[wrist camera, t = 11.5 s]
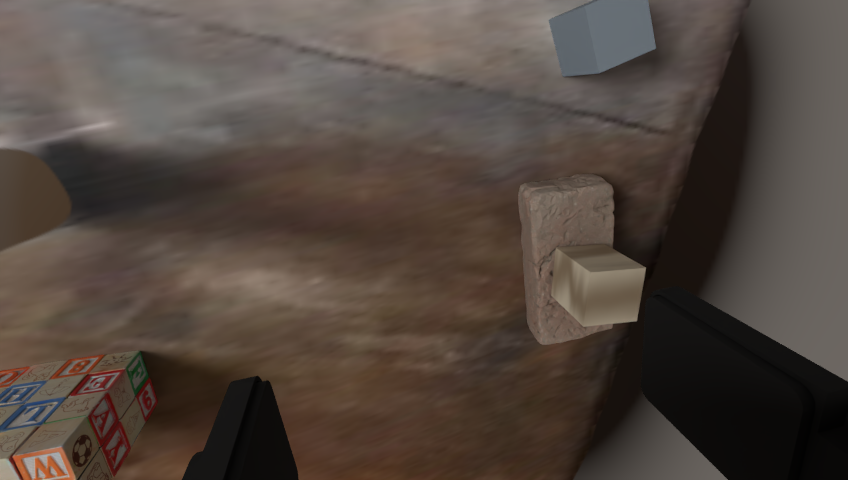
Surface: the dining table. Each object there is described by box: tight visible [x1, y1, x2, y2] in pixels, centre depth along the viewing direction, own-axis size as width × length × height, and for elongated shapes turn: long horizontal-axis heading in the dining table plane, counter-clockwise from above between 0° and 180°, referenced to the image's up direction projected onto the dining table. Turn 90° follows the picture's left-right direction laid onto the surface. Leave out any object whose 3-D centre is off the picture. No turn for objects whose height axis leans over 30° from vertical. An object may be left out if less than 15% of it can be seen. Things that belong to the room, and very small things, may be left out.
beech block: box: [551, 244, 646, 327], centre depth 38 cm, size 5×5×6 cm
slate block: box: [549, 0, 656, 77], centre depth 35 cm, size 5×5×6 cm
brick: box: [518, 174, 614, 345], centre depth 43 cm, size 17×8×5 cm, turn 8°
